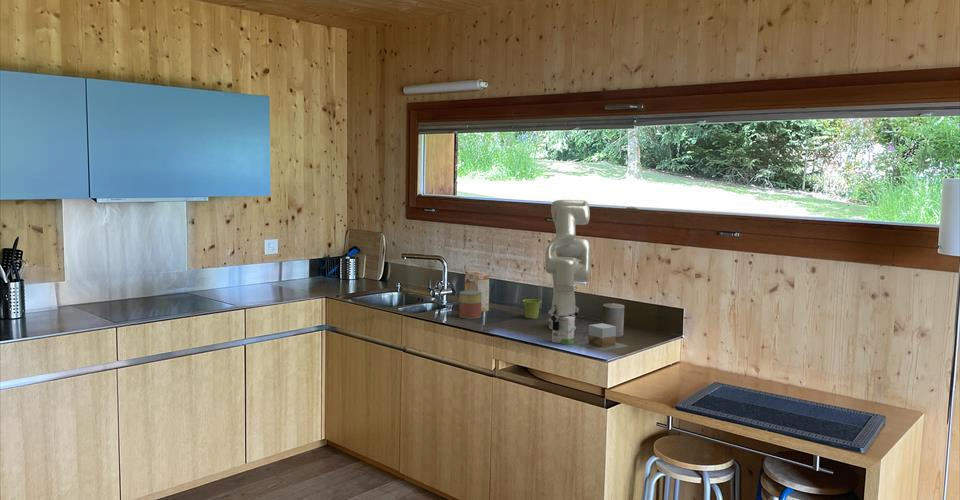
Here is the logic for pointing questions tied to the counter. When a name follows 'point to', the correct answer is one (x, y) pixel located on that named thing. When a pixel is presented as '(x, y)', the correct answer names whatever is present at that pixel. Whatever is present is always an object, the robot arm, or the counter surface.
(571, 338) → the ink box
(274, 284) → the counter surface
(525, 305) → the plant pot
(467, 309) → the canned food
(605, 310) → the pillar candle
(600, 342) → the bottom slab
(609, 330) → the top slab
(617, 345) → the mat
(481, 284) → the coffeecake box
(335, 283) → the counter surface
